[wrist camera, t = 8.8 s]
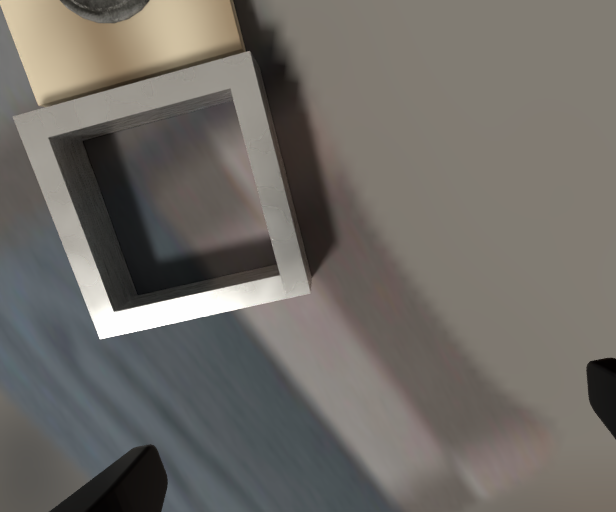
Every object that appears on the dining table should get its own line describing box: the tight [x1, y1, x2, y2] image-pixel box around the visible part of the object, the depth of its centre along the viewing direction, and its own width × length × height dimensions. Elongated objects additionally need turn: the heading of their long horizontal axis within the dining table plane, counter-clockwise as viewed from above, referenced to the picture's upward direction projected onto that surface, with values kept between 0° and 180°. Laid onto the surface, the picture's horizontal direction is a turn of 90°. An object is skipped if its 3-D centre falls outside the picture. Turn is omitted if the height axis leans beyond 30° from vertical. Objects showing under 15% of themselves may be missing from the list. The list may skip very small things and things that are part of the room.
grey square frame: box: [13, 51, 312, 339], centre depth 19 cm, size 11×11×2 cm
